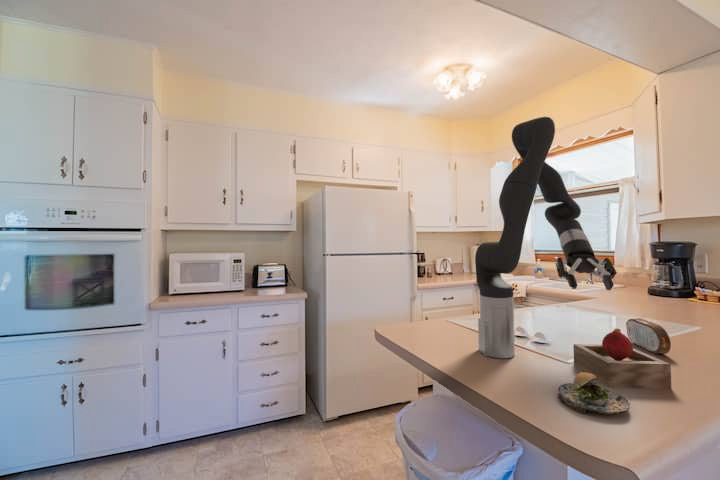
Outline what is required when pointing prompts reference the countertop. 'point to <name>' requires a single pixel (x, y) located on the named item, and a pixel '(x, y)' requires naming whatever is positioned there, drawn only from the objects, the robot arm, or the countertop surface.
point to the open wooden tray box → (623, 368)
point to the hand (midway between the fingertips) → (592, 288)
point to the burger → (590, 396)
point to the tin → (648, 336)
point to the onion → (617, 345)
